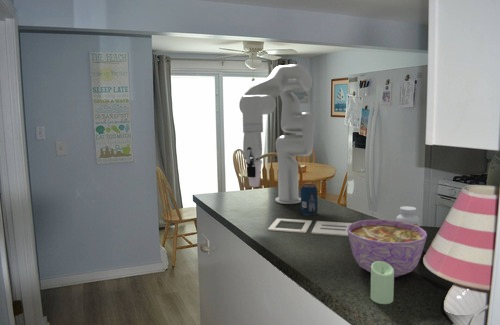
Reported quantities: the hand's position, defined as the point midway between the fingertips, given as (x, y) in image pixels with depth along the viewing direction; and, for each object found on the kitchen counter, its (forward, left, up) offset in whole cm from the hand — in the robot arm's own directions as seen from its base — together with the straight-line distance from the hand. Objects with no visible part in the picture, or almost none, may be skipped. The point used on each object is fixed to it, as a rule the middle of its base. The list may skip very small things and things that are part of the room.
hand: (254, 175), depth 148 cm
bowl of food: (+34, +47, -19) cm, 61 cm away
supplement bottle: (+14, +54, -19) cm, 59 cm away
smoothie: (0, 0, -4) cm, 4 cm away
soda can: (-19, +18, -19) cm, 33 cm away
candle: (+50, +46, -19) cm, 71 cm away
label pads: (0, +22, -19) cm, 29 cm away
